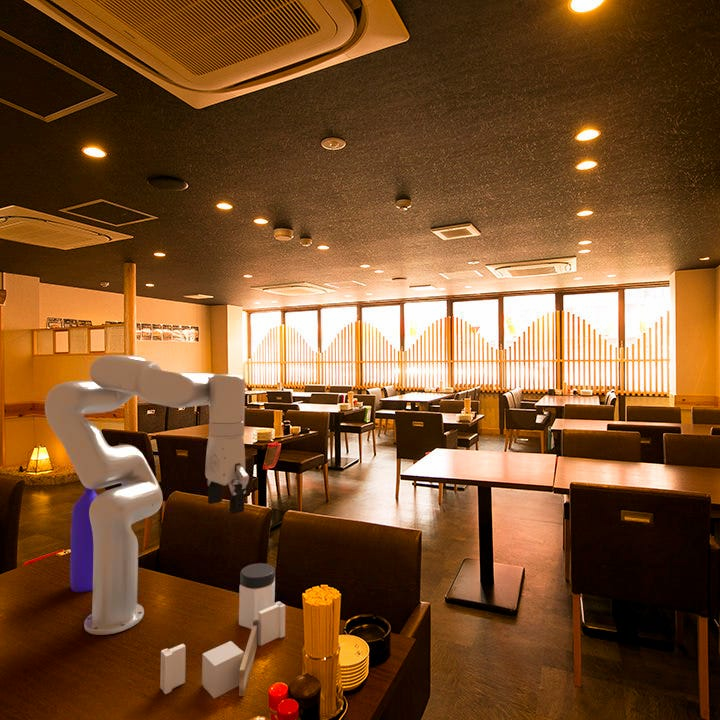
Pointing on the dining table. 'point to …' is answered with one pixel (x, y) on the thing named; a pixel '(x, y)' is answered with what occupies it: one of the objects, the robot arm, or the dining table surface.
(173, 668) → the white flat upright blocks
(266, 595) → the jar
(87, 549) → the bottle
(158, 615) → the dining table surface
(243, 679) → the gate
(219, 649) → the block
